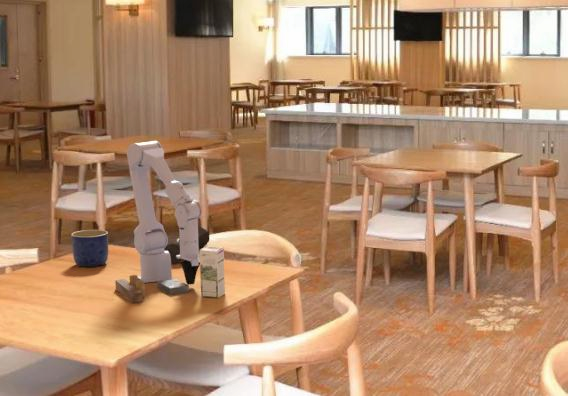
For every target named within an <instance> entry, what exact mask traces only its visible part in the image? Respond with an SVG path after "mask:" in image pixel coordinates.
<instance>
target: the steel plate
mask: <svg viewBox="0 0 568 396" xmlns="http://www.w3.org/2000/svg"><path fill="white" fill-rule="evenodd" d="M156 282H157V289H159V291H162V292H164V293H166V294H168V295H170V296H174V295H179V294H185V293H190V289H189V288H190V286H189V285H188V284H187V283H185V282H182V281H181V280H179V279H177V278H172V279H171V280H164V281H156Z"/></svg>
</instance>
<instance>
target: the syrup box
mask: <svg viewBox="0 0 568 396" xmlns="http://www.w3.org/2000/svg"><path fill="white" fill-rule="evenodd" d="M224 250H225V248H224V247H221V246H207V245H206V246H205V247H203V248H202V249H199V262H200V265H199V268H200V269H199V270H200V272H199V275H200V296H201V297H202V298H203V297H204V298H212V299H213V298H214V299H216V298H217V299H219V298H221V297H222V296H224V295H226V285H225V284H226V283H225V282H226V281H225V280H226V279H225V251H224Z"/></svg>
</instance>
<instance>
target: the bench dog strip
mask: <svg viewBox="0 0 568 396" xmlns="http://www.w3.org/2000/svg"><path fill="white" fill-rule="evenodd" d="M137 276H138V275H136V274H131V275H129V281H128V280H127V279H125V278H121V279H115V283H114V284H115V290H116V291H117V292H118V293H120V294H121V295H122V296H123V297H124V298H125V299H126V300H128V301H129V302H130V303H131V304H136V303H137V304H140V303H142V302H143V299H144V298H146V293H145V292H146V291H145V283H144V280H139V279H138V278H137Z"/></svg>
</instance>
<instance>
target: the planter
mask: <svg viewBox="0 0 568 396" xmlns="http://www.w3.org/2000/svg"><path fill="white" fill-rule="evenodd" d="M70 238H71V250H72V256H73V260H74V263H75V264H76V265H77V266H79V267H83V266H84V268H91V267H92V266H94V267H99V265H100V266H102V265H104V264H106V263H107V261H108V259H109V232H108V231H106V230H103V229H86V230H85V229H84V230H79V231H74V232H72V233H71V234H70Z"/></svg>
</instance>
